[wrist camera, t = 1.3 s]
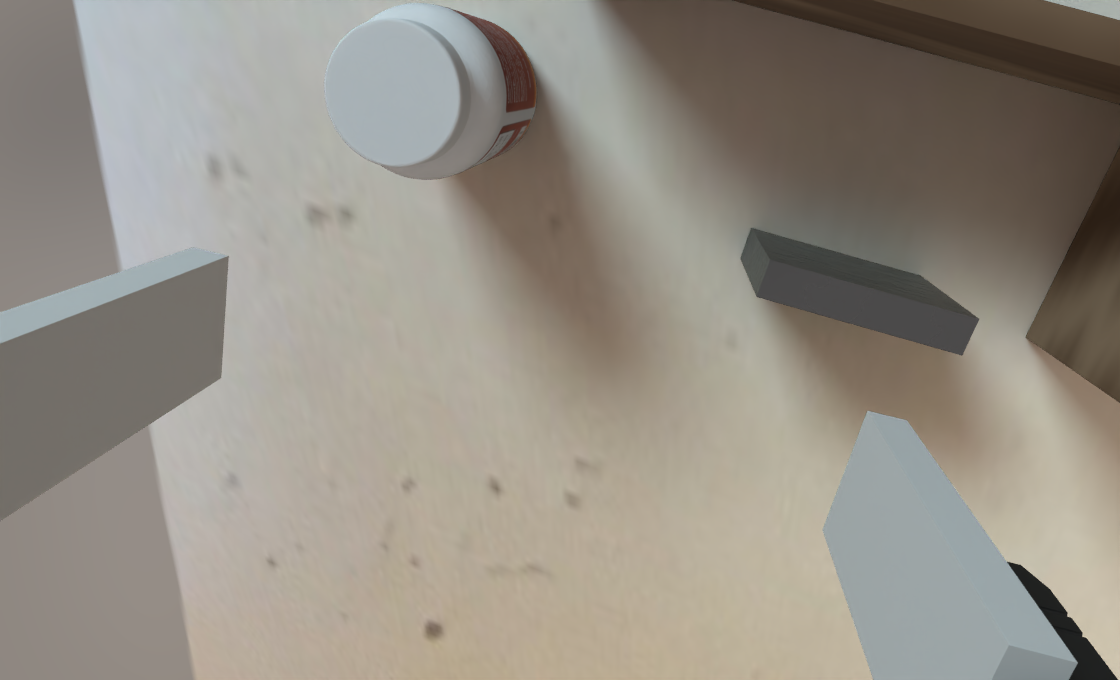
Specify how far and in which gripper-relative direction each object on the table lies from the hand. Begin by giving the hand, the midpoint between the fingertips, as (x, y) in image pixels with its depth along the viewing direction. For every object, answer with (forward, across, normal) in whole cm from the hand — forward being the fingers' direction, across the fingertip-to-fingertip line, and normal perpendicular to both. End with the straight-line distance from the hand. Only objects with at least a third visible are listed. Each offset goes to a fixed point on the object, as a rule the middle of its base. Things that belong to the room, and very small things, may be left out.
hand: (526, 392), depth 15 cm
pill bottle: (+22, -7, +4) cm, 24 cm away
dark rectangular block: (+22, +10, 0) cm, 24 cm away
